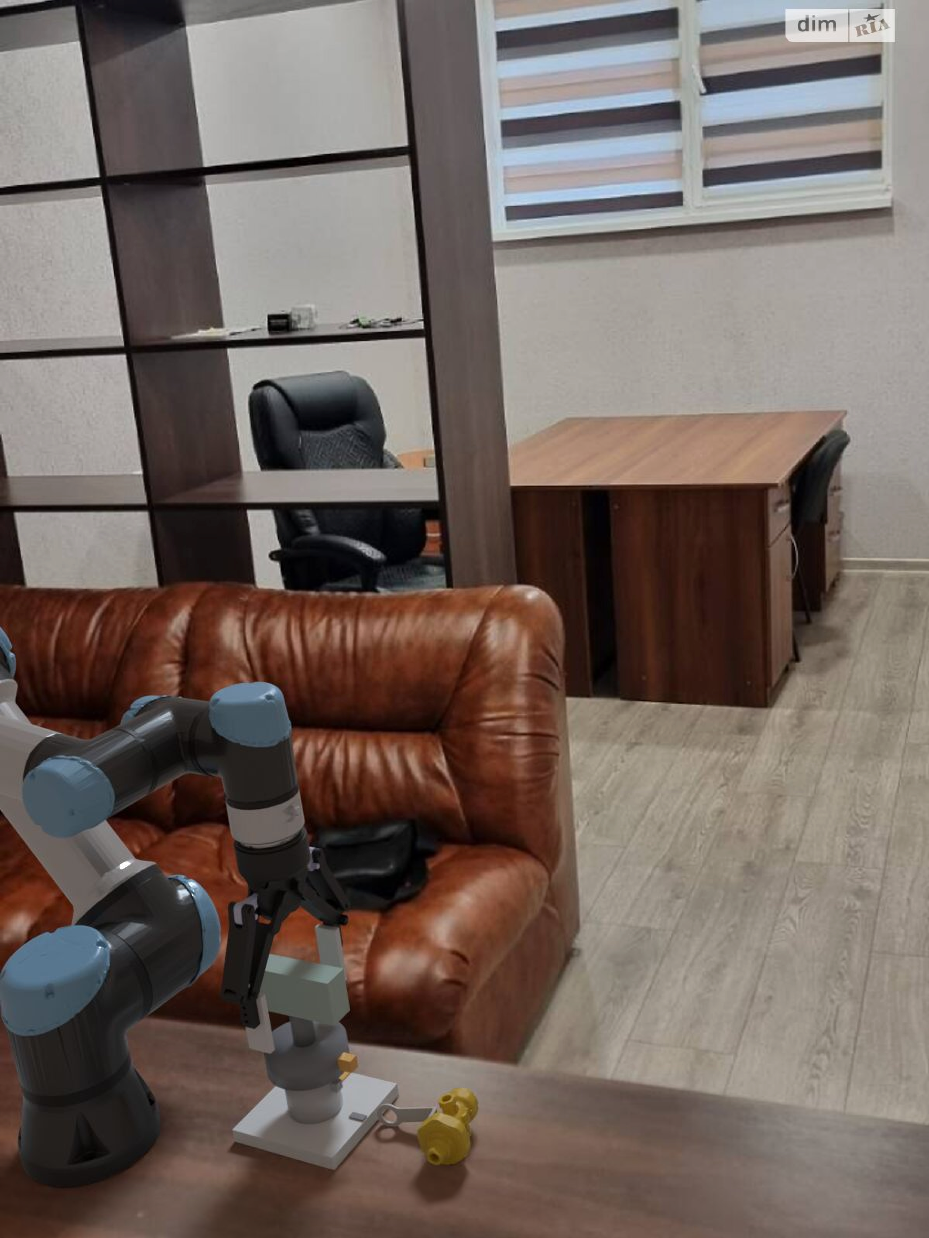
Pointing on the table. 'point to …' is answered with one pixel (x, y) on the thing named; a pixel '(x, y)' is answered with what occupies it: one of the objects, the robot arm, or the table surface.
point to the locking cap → (307, 1023)
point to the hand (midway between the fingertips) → (300, 1013)
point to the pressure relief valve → (440, 1125)
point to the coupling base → (320, 1135)
